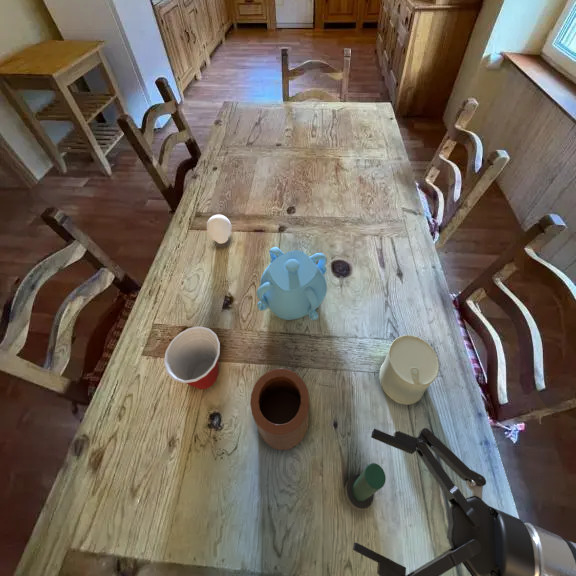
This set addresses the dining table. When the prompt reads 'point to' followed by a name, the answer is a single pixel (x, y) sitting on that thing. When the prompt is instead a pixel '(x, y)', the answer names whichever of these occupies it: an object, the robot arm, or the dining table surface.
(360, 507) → the green peg on base
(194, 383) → the plastic cup
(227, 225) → the light bulb
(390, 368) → the can
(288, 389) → the brown mortar
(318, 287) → the decorative pot
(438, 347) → the dining table surface
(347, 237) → the dining table surface
